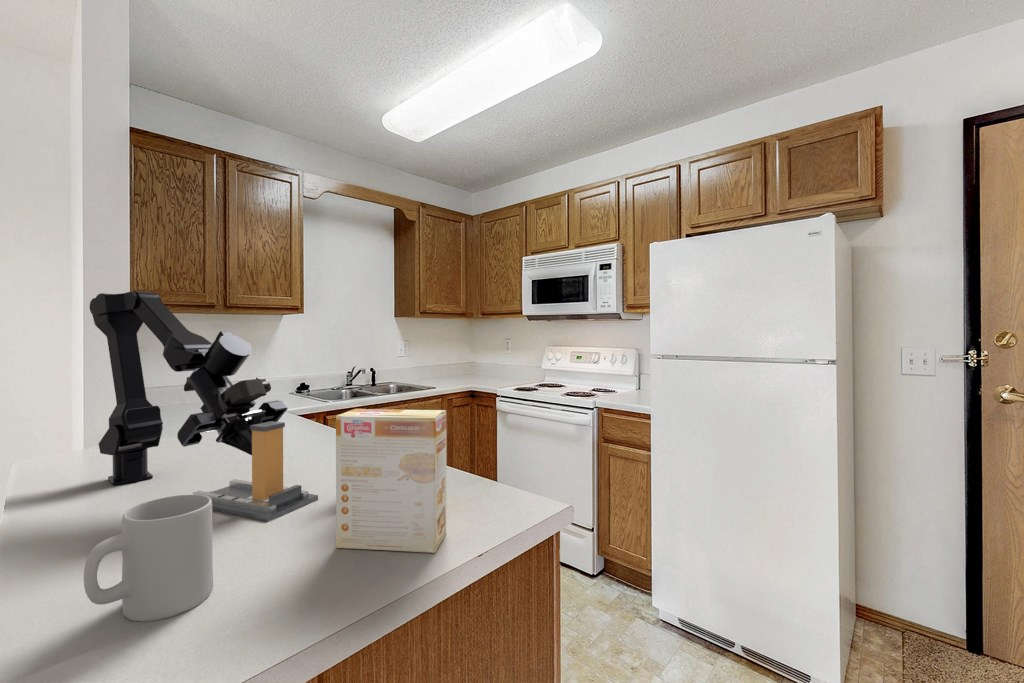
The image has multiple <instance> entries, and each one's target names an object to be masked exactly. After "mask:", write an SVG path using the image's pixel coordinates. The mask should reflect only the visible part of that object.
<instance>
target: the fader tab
mask: <svg viewBox="0 0 1024 683" xmlns="http://www.w3.org/2000/svg"><path fill="white" fill-rule="evenodd" d="M285 427H286V422H283V421H282V422H281V421H278V422H274V421H270V422H265V423H260V424H255V425H250V430H252V455H251V482H252V496H251V497H248V498H246V499H248V500H251V499H252V500H254V501H259V502H264V503H269V495H271V494H273V493H276V492H279V491H281V490H283V487H284V428H285Z"/></svg>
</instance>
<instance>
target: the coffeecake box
mask: <svg viewBox="0 0 1024 683" xmlns="http://www.w3.org/2000/svg"><path fill="white" fill-rule="evenodd" d="M335 490H336V491H335V531H336V532H335V534H336V535H335V542H336V543H335V545H336V546H335V547H336V549H350V550H351V549H352V550H353V549H355V550H356V549H357V550H373V551H374V550H375V551H391V552H392V551H393V552H394V551H395V552H412V553H430V554H436V553H437V551H438V548H439V546H440V544H441V543H442V541H443V540H444V538H445V537H446V535H447V410H446V409H443V410H442V409H397V408H396V409H395V408H394V409H390V408H388V409H387V408H384V409H383V408H380V409H379V408H368V409H367V408H354V409H351V410H348V411H346V412H343V413H339V414H337V415H336V416H335Z"/></svg>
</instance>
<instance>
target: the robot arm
mask: <svg viewBox="0 0 1024 683" xmlns="http://www.w3.org/2000/svg"><path fill="white" fill-rule="evenodd" d="M161 298H162V297H161V295H159V294H158V293H156V292H153V291H141V290H139V291H138V290H132V291H128V292H127V291H126V292H123V293H103V292H102V293H98V294H97V295H96V297H93V298H92V299H91V301H89V302H90V303H89V311H90V313H91V314H92V318H93V322H94V325H95V327H96V328H97V329H98V330H99V331H100V332H101V333H102V334H104V336H105V337H106V341H107V346H108V353H109V358H110V359H109V361H110V367H111V374H112V379H113V386H114V393H115V401H116V405H115V407H114V409H113V410H112V412H111V414H110V416H109V418H108V429H107V431H106V432H105V434H104V435H103V436H102V438H101V439H100V441H99V442H98V449H99V453H100V454H102V455H107V456H108V455H109V456H112V475H109V476H107V479H108V481H109V482H110V483H111V484H112V485H113V486H117V485H121V484H122V485H123V484H127V483H132V482H133V483H134V482H138V481H144V480H150V479H153V477H154V476H153V474H152V473H150V471H148V470H149V469H148V468H149V467H148V464H149V462H148V461H149V460H148V456H149V455H148V449H151V448H157V447H159V445H160V442H161V436H162V432H163V428H164V426H163V424H164V422H163V420H162V416H161V408H160V407H159V406H158V405H153V404H152V403H151V402H150V401H149V400H148V398H147V392H146V386H145V380H144V374H143V373H144V371H143V366H142V360H141V352H140V347H139V341H138V333H139V331H140V329H141V328H142V326H143V324H145V326H146V327H147V328H148V329H149V331H151V333H152V334H153V335H154V336H155V337H156V338H157V339H158V341H159V342H160V343H161V344H162V346H163V351H162V357H163V358H164V359H165V361H166V362H167V364H168V366H169V368H170V369H171V370H173V371H174V372H177V373H179V372H191V371H192V373H191V374H190V375H189V376H187V377H186V382H185V383H184V385H183V391H184V392H192V391H193V392H194V391H195V393H196V395H197V396H198V398H199V399H200V401H201V403H202V406H201V407H200V410H201V411H202V412H198V413H197V412H196V413H192V414H191V413H190V414H189V416H188V417H187V419H186V420H185V422H184V423H183V425H182V426H181V427H180V429H179V430H178V432H177V439H178V441H179V443H180V445H181V446H182V447H184V448H185V447H189V446H194V445H199V444H200V443H201V440H202V439H203V436H202V434H201V433H208V432H214V431H217V434H218V437H216V439H215V441H216V443H223V444H225V445H227V446H231V447H232V448H235V449H237V450H239V451H240V452H244V453H246V454H248V455H250V456H252V430H250V425H255V424H260V423H265V422H270V421H274V422H279V420H281V418H282V417H283V415H284V414H285V413H286V412H287V410H288V407H287V406H286V404H285V403H284V402H283V401H282V400H272V401H266V402H262V404H261V405H260V406H259V407H258V409H257V410H252V411H251V409H252V408H254V407H255V405H256V404H257V403H256V400H258V399H259V398H261V397H265V396H267V393H269V392H270V391H271V390H272V385H271V383H270V381H269V380H268V378H266V377H265V376H256V377H255V378H251V379H245V380H240V381H238V382H235V383H234V384H233V383H232V382H231V380H230V378H228V377H232V376H234V375H236V374H237V373H238V371H239V370H240V368H241V367H242V366H243V364H244V363H245V362H246V360H247V359H248V358H249V357H250V355H251V353H252V352H253V348H252V346H251V344H250V342H249V341H246V340H245V339H243V338H241V337H240V336H237V335H235V334H233V333H232V332H231V331H229V330H227V331H219V332H218V334H216V336H215V340H214V341H213V342H210V340H207V339H206V337H204V336H202V335H199V334H196V333H194V332H192V331H190V330H189V329H188V328H186V326H185V325H184V324H183V323H182V322H181V321H180V320H179V319H178V318H177V316H175V314H174V313H173V312H172V311H171V310H170V309H169V308H168V307H167V306H166V304H164V303H163V301H162V299H161Z"/></svg>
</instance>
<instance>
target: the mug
mask: <svg viewBox="0 0 1024 683" xmlns="http://www.w3.org/2000/svg"><path fill="white" fill-rule="evenodd" d="M121 520H122V521H121V533H118V534H116V535H113V536H110V537H109V538H106V539H104V540H102V541H100V542H99V543H97V544H96V545H95V546H94V547H93V548H92V549H91V551H89V554H88V556H87V558H86V560H85V564H84V570H83V588H84V592H85V594H86V597H87V599H89V600H90V602H91V603H93V604H95V605H100V606H101V605H107V604H111V603H115V602H118V601H120V600H121V604H122V605H121V608H122V614H123V616H124V617H125V618H126V619H127V620H130V621H134V622H153V621H159V620H164V619H167V618H171V617H174V616H177V615H180V614H183V613H186V612H188V611H189V610H191V609H194V608H196V607H197V606H199V605H200V604H202V603H203V602H204V601H205V600H207V599H208V597H209V596H210V595H211V594H212V591H213V587H214V567H213V565H214V562H213V561H214V560H213V554H214V552H213V548H214V547H213V545H214V544H213V510H212V500H211V498H209V497H207V496H204V495H193V494H177V495H173V496H172V495H171V496H165V497H159V498H156V499H152V500H148V501H146V502H143V503H139V504H137V505H135V506H133V507H130V508H129V509H127V510H126V511H125V512H124V513H123V515H122V518H121ZM118 551H119V552H121V551H122V553H121V555H122V557H121V558H122V563H121V566H122V567H121V581H120V582H118V583H117V584H115V585H113V586H111V587H109V588H101V587H100V585H99V582H98V581H99V580H98V571H99V566H100V564H101V562H102V560H103V559H104V558H105V556H107V555H109V554H110V553H111V554H112V553H113V552H118Z"/></svg>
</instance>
